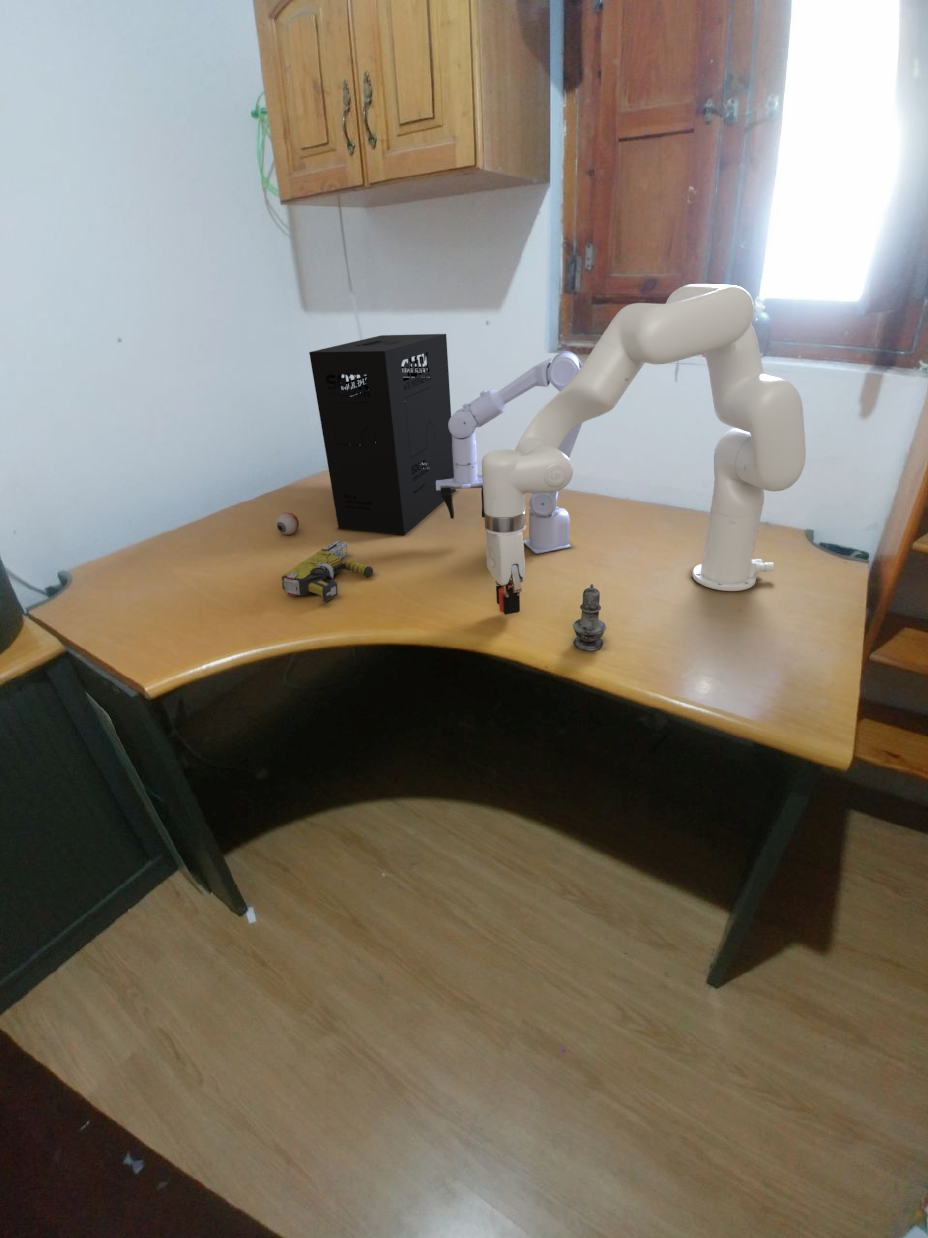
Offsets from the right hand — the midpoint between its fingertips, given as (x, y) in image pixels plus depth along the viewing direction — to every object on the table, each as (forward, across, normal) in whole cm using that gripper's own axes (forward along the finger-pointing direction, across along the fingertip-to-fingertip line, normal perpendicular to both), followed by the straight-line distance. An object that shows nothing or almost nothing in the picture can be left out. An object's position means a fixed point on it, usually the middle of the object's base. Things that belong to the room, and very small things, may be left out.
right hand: (508, 606), depth 119 cm
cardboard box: (+2, -71, -10) cm, 72 cm away
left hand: (-5, -39, +2) cm, 39 cm away
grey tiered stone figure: (+2, +14, +11) cm, 18 cm away
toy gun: (+2, -30, -31) cm, 43 cm away
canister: (0, 0, 0) cm, 0 cm away
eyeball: (+2, -63, -42) cm, 76 cm away
